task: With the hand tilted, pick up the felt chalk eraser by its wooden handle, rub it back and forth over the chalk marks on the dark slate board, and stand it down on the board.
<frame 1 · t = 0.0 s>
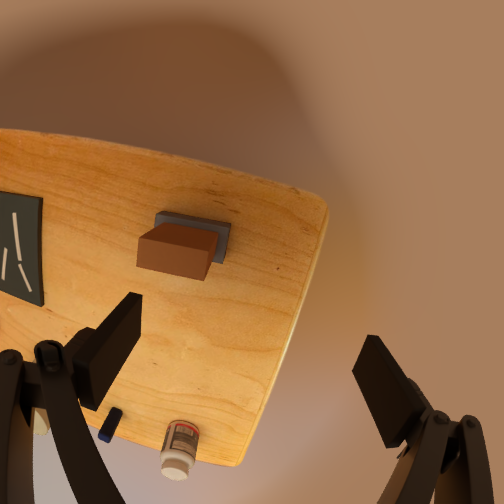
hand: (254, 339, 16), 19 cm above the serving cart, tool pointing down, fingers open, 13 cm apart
pill bottle: (184, 429, 42), on the serving cart
can: (56, 373, 40), on the serving cart
chalk eraser: (193, 234, 33), on the serving cart
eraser: (117, 411, 42), on the serving cart
slate board: (14, 246, 34), on the serving cart
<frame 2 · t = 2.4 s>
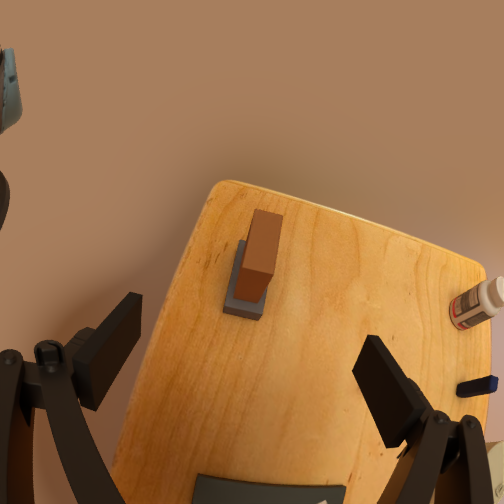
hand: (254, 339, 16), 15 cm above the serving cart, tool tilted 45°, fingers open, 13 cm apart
pill bottle: (458, 314, 37), on the serving cart
can: (431, 473, 25), on the serving cart
chalk eraser: (247, 283, 34), on the serving cart
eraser: (459, 391, 31), on the serving cart
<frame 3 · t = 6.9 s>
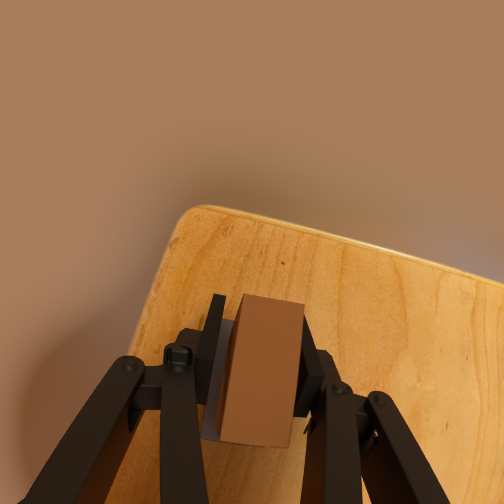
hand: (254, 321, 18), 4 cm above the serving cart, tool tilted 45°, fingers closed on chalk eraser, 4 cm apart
chalk eraser: (238, 385, 19), on the serving cart, touching gripper
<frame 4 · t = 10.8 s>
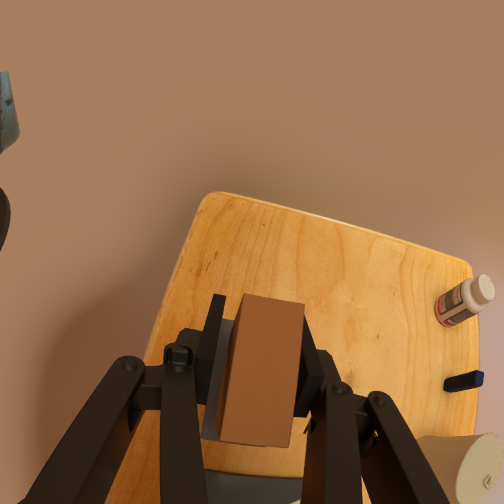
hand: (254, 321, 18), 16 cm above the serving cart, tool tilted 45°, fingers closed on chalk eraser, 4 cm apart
pill bottle: (444, 312, 39), on the serving cart
can: (421, 465, 27), on the serving cart
chalk eraser: (238, 385, 19), point 13 cm above the serving cart, touching gripper
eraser: (447, 386, 33), on the serving cart
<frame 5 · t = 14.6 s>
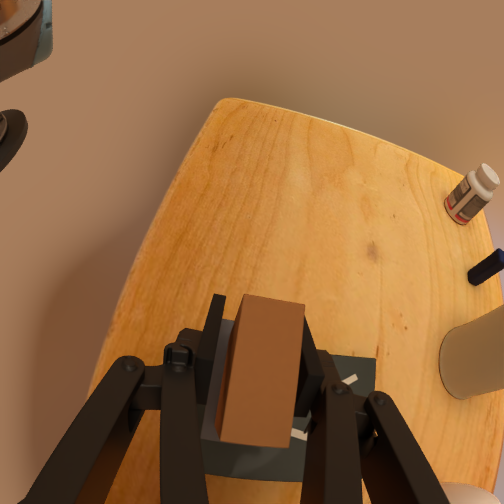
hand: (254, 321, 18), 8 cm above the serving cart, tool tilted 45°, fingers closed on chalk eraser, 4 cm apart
pill bottle: (455, 212, 39), on the serving cart
can: (462, 363, 27), on the serving cart
chalk eraser: (238, 385, 19), point 5 cm above the serving cart, touching gripper
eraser: (471, 279, 33), on the serving cart
slate board: (286, 416, 23), on the serving cart
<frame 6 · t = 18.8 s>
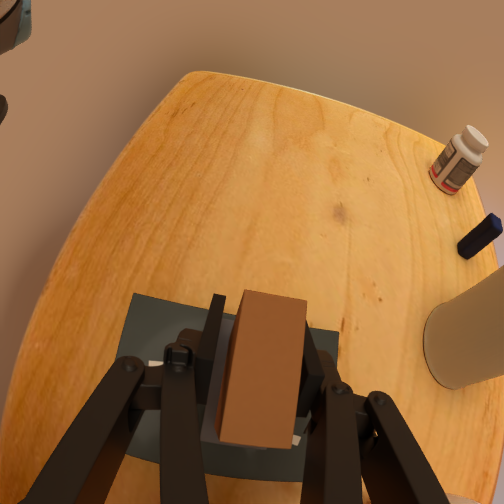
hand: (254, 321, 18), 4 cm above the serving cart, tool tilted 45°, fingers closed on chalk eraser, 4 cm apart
pill bottle: (441, 181, 36), on the serving cart
can: (453, 345, 24), on the serving cart
chalk eraser: (239, 387, 19), point 1 cm above the serving cart, touching gripper
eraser: (462, 252, 30), on the serving cart
slate board: (222, 395, 19), on the serving cart
when the fingers open (4 cm above the serving cart, at t = 22.2 s): chalk eraser stays where it is, resting on slate board.
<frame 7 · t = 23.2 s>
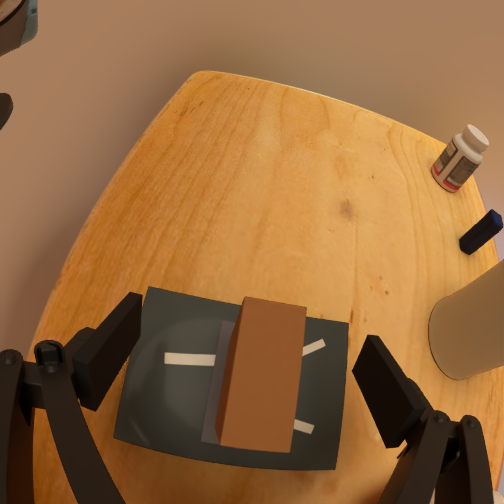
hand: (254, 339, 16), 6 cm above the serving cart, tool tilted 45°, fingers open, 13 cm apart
pill bottle: (443, 179, 37), on the serving cart
can: (457, 337, 24), on the serving cart
chalk eraser: (239, 388, 19), point 1 cm above the serving cart, touching slate board
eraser: (463, 247, 31), on the serving cart
slate board: (237, 386, 20), on the serving cart
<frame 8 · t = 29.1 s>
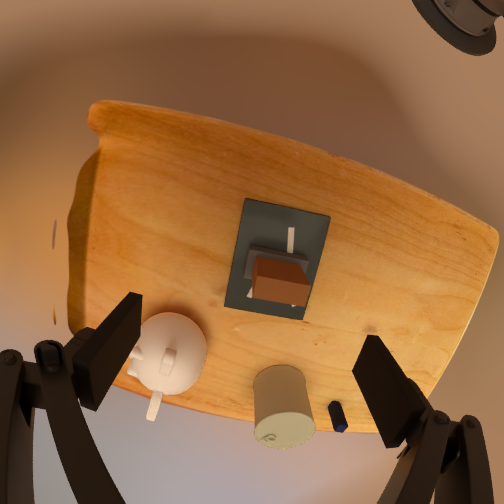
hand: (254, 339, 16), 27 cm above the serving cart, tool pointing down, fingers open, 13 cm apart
can: (279, 384, 49), on the serving cart
piggy bank: (175, 332, 46), on the serving cart
chalk eraser: (274, 264, 42), point 1 cm above the serving cart, touching slate board
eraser: (333, 404, 51), on the serving cart
slate board: (275, 261, 43), on the serving cart
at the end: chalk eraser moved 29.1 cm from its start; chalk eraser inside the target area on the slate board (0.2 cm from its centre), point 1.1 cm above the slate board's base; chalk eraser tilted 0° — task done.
